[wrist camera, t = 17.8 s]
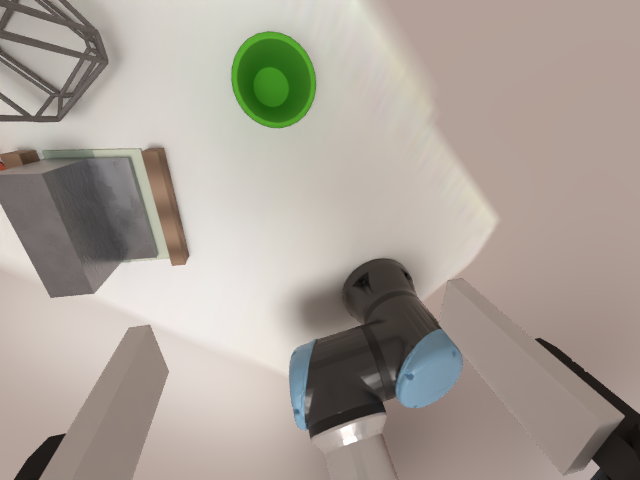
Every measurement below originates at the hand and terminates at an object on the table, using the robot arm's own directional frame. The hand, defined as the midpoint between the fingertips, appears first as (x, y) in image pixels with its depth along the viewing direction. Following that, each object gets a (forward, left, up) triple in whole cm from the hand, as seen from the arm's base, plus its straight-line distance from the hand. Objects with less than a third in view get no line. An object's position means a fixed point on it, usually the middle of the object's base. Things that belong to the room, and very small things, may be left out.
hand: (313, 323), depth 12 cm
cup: (+11, 0, -36) cm, 38 cm away
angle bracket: (-6, +25, -36) cm, 44 cm away
